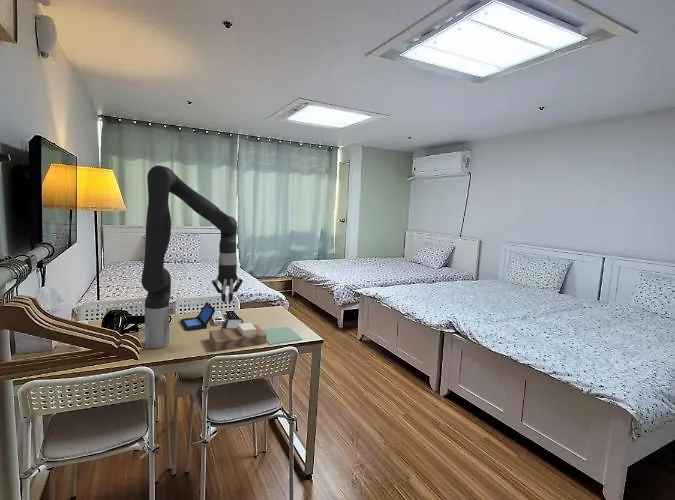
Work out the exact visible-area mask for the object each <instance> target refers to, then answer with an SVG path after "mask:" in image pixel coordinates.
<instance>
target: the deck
mask: <svg viewBox="0 0 675 500" xmlns="http://www.w3.org/2000/svg"><path fill="white" fill-rule="evenodd" d="M252 325H253V324H252ZM253 326H254V327H255V328H256V334H255V335H248V336H242V334H241V333H240V332H239V331H238V327H237V328H229V329H223V328H222V329H214V330H213V329H212V330H209V334H208V335H209V336H208V339H209V341H210V344H211V345H212V347H213V348H214V350H215V352H220V351H227V350H234V349H240V348H247V347H252V346H259V345H266V344H267V341H266V338H267V335H266V334H265V333H264V332H263V331H262V330H263V329H261V327H260V326H258V325H257V324H254V325H253Z"/></svg>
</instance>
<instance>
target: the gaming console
mask: <svg viewBox="0 0 675 500" xmlns="http://www.w3.org/2000/svg"><path fill="white" fill-rule="evenodd" d="M234 318H235V319H234ZM242 323H244V319H243V318H242V317H229V318H226V319H225V320H224V323H223V327H222V329H229V328H237V327H238V324H242Z"/></svg>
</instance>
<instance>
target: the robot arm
mask: <svg viewBox="0 0 675 500" xmlns="http://www.w3.org/2000/svg"><path fill="white" fill-rule="evenodd" d="M146 179H147V180H146V181H147V182H146V183H147V195H148V196H147V197H148V198H147V199H148V200H147V201H148V203H147V209H146V210H147V211H146V222H145V244H144V245H145V246H144V262H143V263H144V264H143V267H142V274H141V279H140V281H141V285H142V287H143V289H144V290H145V291H146V292H147V295H146V298H145V300H144V345H145V349H146V350H147V349H152V350H153V349H163V348H166V347H168V346H169V345H170V298H171V294H172V293H171V289H172V288H171V287H172V279H171V274H170V272H169V271H168V270H167V269H166V268H164V265H165V263H164V262H165V257H166V253H167V250H168V248H169V245H170V241H171V233H172V218H171V212H170V206H169V199H170V198H169V197H170V196H169V195H170V193H171V194H173V195H174V196H176V197H177V198H179V199H180V200H181V201H183V202H184V203H185V204H186V205H187V206H188V207H189V208H190V209H192V210H193V211H194V212H195V213H196V214H198V215H199V216H201V217H202V218H204V219H205V220H206V221H208V222H209V223H210V224H212V225H213V226H214V227H215V228H217V229H218V230H219V231H220V240H219V246H218V247H219V250H218V252H219V253H218V259H217V261H218V267H217V269H218V275H217V278H216V279H214V280H211V284H212V285H213V287H214V289H215V290H216V292H217V293H218V294H220V295H221V297H220V298H221V301H222V303H226V299H227V298H226V297H227V294H226V289H227V287H228V302H229V303H232V301H233V299H234V293H237V292H238V291H239V289H240V287H241V286H242V284H243V282H244V281H243V279H242V278H239V277H238V274H237V271H238V270H237V269H238V268H237V267H238V262H237V261H238V257H237V235H238V222H237V220H236V219H235V218H234V217H233V216H231V215H228V214H226V213H225V212H224V211H222V210H221V209H220V207H218V206H217V205H216V204H214V203H213V202H212V201H210V200H209V199H208V198H205V197H204V196H203V195H201V194H200V193H198V192H197V191H195V190H194V189H193V188H191V187H190V186H189V185H187V183H185V182H184V181H183V180H182V179H181V178H180V177H179V176H178V175H177V174H176V173H175V172H174V171H173V170H172V169H171V168H170V167H167V166H165V165H164V166H163V165H155V166H153V167H151V168H150V169H149V170H148V172H147V178H146ZM219 283H220V285H221V287H220V288H219V286H218V284H219ZM235 283H236V284H235ZM234 284H235V285H234Z"/></svg>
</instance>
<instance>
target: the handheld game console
mask: <svg viewBox="0 0 675 500" xmlns="http://www.w3.org/2000/svg"><path fill="white" fill-rule="evenodd" d="M215 312H216V309H215V308H214V307H213V306H212V305H211V304H210V303H209V302H208V301H206V302H205V304H204V305H203V307H202V308H201V310H200V311H199V313H198V315H196V316H194V317H187V318H181V319H180V322H181V325H182V327H184V329H185V330H186V331H188V332H190V331H198V330H204V329H207V328H208V326H207V325H208V324H209V322H210V320H211V319H212V318H213V316H214V314H215Z"/></svg>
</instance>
